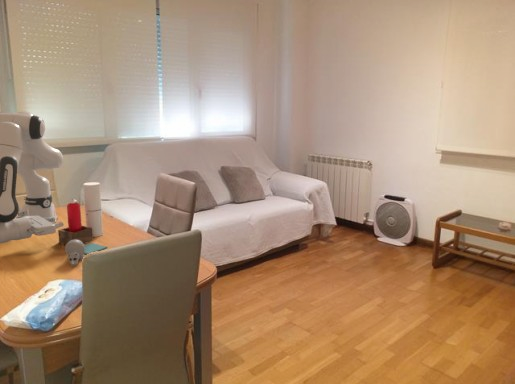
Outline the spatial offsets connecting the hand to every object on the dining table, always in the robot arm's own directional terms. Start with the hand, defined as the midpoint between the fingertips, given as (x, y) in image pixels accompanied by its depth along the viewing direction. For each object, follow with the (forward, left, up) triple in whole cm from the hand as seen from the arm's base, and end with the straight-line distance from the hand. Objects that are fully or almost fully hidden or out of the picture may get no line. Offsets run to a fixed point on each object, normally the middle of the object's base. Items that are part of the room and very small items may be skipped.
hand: (58, 221), depth 177 cm
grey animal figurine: (+22, -10, -11) cm, 27 cm away
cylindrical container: (+1, +18, -11) cm, 21 cm away
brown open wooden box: (+2, +7, -11) cm, 13 cm away
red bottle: (+2, +7, -11) cm, 13 cm away
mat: (+16, +3, -11) cm, 19 cm away
